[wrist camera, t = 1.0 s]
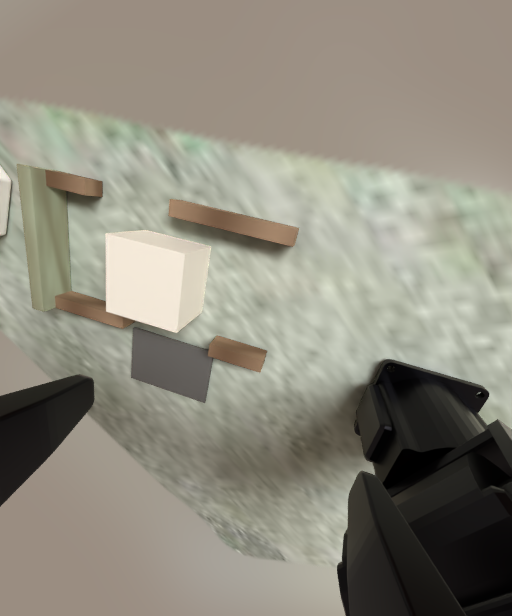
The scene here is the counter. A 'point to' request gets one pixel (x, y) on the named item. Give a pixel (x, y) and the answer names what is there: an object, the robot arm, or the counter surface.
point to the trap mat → (170, 364)
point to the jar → (4, 200)
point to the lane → (56, 260)
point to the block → (155, 278)
